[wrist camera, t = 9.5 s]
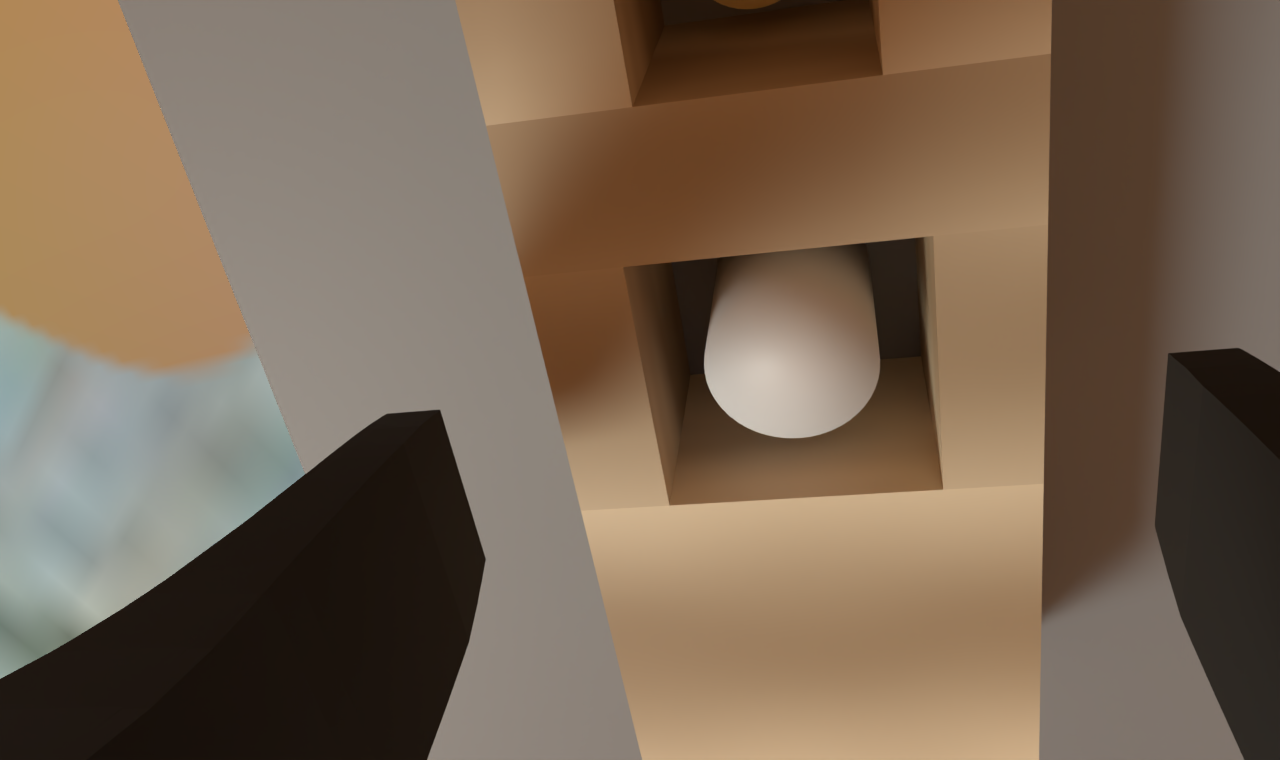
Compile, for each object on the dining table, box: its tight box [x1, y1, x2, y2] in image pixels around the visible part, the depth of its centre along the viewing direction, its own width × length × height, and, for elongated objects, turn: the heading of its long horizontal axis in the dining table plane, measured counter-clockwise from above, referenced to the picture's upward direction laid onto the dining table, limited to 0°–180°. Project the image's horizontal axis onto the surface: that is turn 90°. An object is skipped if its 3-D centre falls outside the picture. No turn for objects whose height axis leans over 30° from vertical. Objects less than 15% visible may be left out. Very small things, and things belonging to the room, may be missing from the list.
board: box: [118, 0, 1280, 760], centre depth 15 cm, size 22×22×4 cm
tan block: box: [455, 0, 1052, 760], centre depth 14 cm, size 14×5×3 cm, turn 10°
